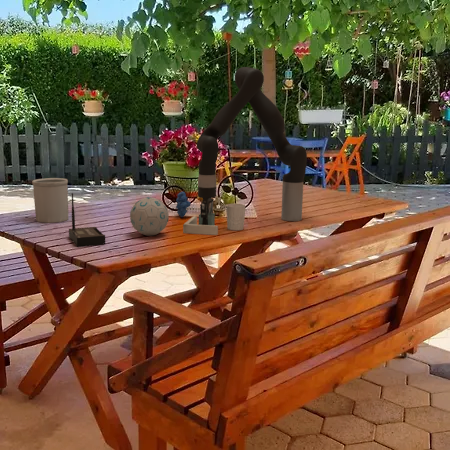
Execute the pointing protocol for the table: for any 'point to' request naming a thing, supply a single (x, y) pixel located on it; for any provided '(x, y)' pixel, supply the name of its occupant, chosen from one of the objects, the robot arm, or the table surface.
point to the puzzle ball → (149, 216)
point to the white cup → (235, 216)
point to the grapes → (182, 204)
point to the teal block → (210, 219)
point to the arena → (199, 228)
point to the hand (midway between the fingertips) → (206, 225)
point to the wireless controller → (85, 234)
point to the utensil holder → (51, 199)
